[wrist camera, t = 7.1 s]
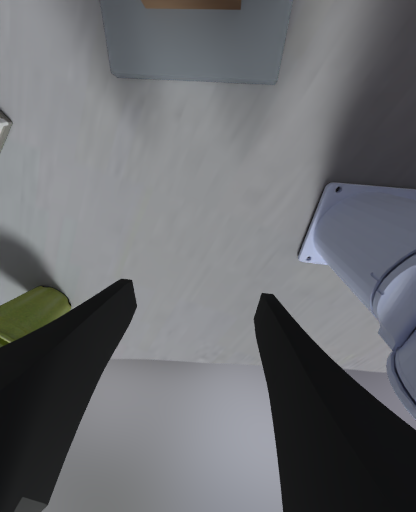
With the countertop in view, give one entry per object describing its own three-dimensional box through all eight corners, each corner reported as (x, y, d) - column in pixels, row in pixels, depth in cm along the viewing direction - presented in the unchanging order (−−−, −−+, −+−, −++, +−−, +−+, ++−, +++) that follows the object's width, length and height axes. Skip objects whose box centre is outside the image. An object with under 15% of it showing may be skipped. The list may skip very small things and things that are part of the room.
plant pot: (34, 266, 25) (-51, 312, 17) (90, 303, 28) (38, 357, 20) (18, 294, 29) (-56, 342, 21) (69, 325, 32) (19, 377, 24)
